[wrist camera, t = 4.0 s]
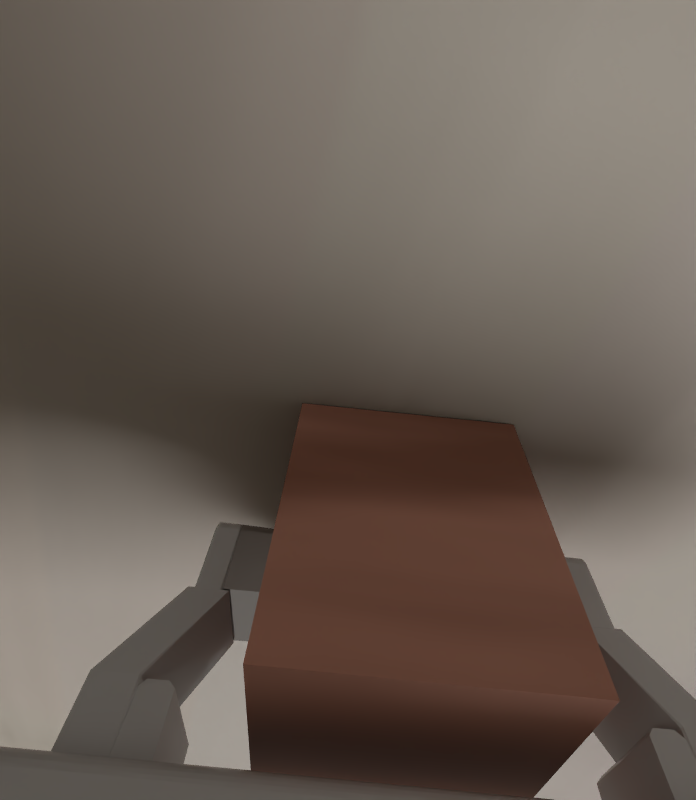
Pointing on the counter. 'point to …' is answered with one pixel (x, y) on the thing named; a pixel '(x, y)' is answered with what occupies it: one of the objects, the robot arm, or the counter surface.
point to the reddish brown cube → (418, 613)
